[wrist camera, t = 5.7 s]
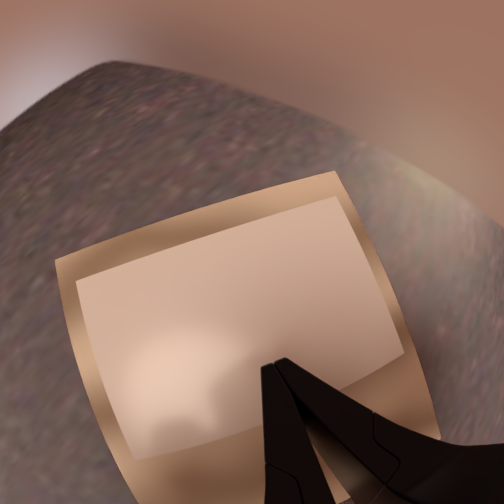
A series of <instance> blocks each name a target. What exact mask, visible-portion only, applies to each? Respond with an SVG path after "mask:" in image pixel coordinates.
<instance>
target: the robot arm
mask: <svg viewBox="0 0 504 504" xmlns="http://www.w3.org/2000/svg"><path fill="white" fill-rule="evenodd" d="M260 375H261V397H262V418H263V440H264V462H265V465H264V466H265V497H264V504H336V502H335V500H334V497H333V495H332V492H331V490H330V488H329V485H328V483H327V480H326V478H325V475H324V473H323V470H322V468H321V465H320V463H319V460H318V458H317V455H316V453H315V450H314V448H313V446H314V447H315V449H316V450H317V451H318V453H319V454H320V456H321V457H322V459H323V460H324V461H325V463H326V464H327V466H328V467H329V468H330V470H331V471H332V473H333V474H334V475H335V477H336V478H337V480H338V481H339V482H340V484H341V485H342V486H343V488H344V489H345V490H346V492H347V493H348V494H349V496H350V497H351V498H352V500H353V501H354V502H355V504H504V443H501V444H490V445H473V446H462V445H454V444H450V443H446V442H443V441H440V440H437V439H435V438H432V437H429V436H426V435H423V434H421V433H418V432H415V431H413V430H410V429H408V428H405V427H403V426H401V425H398V424H396V423H394V422H392V421H391V420H389V419H387V418H385V417H383V416H381V415H379V414H378V413H376V412H374V413H373V411H372V410H371V409H369V408H367V407H365V406H364V405H362V404H360V403H359V402H357V401H355V400H354V399H352V398H350V397H349V396H347V395H345V394H344V393H342V392H340V391H339V390H337V389H335V388H334V387H332V386H330V385H329V384H327V383H326V382H324V381H322V380H321V379H319V378H318V377H316V376H315V375H313V374H311V373H310V372H308V371H307V370H305V369H304V368H302V367H301V366H299V365H297V364H296V363H294V362H293V361H291V360H290V359H288V358H286V357H283V358H281V359H278V360H276V361H274V363H268V364H266V365H263V366H261V368H260ZM312 444H313V445H312Z"/></svg>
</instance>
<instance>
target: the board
mask: <svg viewBox="0 0 504 504" xmlns="http://www.w3.org/2000/svg"><path fill="white" fill-rule="evenodd" d="M334 196H336V197H337V199H338V201H339V203H340V205H341V207H342V209H343V211H344V213H345V215H346V217H347V219H348V221H349V223H350V225H351V227H352V229H353V231H354V233H355V235H356V237H357V239H358V241H359V243H360V246H361V248H362V250H363V252H364V254H365V256H366V259H367V261H368V263H369V265H370V268H371V270H372V272H373V274H374V277H375V279H376V281H377V284H378V286H379V288H380V291H381V293H382V296H383V298H384V300H385V303H386V305H387V308H388V310H389V313H390V315H391V318H392V321H393V323H394V326H395V328H396V331H397V334H398V336H399V339H400V342H401V345H402V347H403V350H404V354H402V355H401V356H399V357H397V358H396V359H394V360H393V361H391V362H389V363H388V364H386V365H384V366H383V367H381V368H379V369H377V370H376V371H374V372H372V373H370V374H369V375H367V376H365V377H363V378H361V379H360V380H358V381H356V382H354V383H352V384H350V385H348V386H346V387H344V388H342V389H341V390H339V391H340V392H342V393H344V394H345V395H347V396H349V397H350V398H352V399H354V400H355V401H357V402H359V403H360V404H362V405H364V406H365V407H367V408H369V409H371V410H372V411H373V413H374V412H376V413H378V414H379V415H381V416H383V417H385V418H387V419H389V420H391V421H392V422H394V423H396V424H398V425H401V426H403V427H405V428H408V429H410V430H413V431H415V432H418V433H421V434H423V435H426V436H429V437H432V438H435V439H437V440H440V439H441V435H440V431H439V427H438V423H437V419H436V415H435V411H434V408H433V404H432V400H431V397H430V393H429V390H428V387H427V383H426V380H425V377H424V374H423V370H422V367H421V364H420V361H419V358H418V355H417V352H416V349H415V346H414V344H413V341H412V338H411V335H410V332H409V330H408V327H407V324H406V322H405V319H404V316H403V314H402V311H401V309H400V306H399V304H398V301H397V299H396V296H395V294H394V291H393V289H392V287H391V284H390V282H389V280H388V277H387V275H386V273H385V270H384V268H383V266H382V264H381V261H380V259H379V257H378V255H377V253H376V250H375V248H374V246H373V244H372V242H371V240H370V238H369V236H368V233H367V231H366V229H365V227H364V225H363V223H362V221H361V219H360V217H359V215H358V213H357V211H356V209H355V207H354V205H353V204H352V202H351V200H350V198H349V196H348V194H347V192H346V190H345V188H344V187H343V185H342V183H341V181H340V179H339V177H338V176H337V174H336V172H335V171H331V172H327V173H323V174H319V175H315V176H311V177H307V178H304V179H300V180H296V181H292V182H289V183H285V184H281V185H278V186H274V187H270V188H267V189H263V190H260V191H256V192H253V193H249V194H246V195H242V196H239V197H236V198H232V199H229V200H226V201H222V202H219V203H216V204H212V205H209V206H206V207H203V208H200V209H196V210H193V211H190V212H187V213H184V214H181V215H178V216H175V217H172V218H169V219H166V220H163V221H160V222H157V223H154V224H151V225H148V226H145V227H142V228H139V229H136V230H134V231H131V232H128V233H125V234H122V235H119V236H117V237H114V238H111V239H108V240H106V241H103V242H100V243H98V244H95V245H92V246H90V247H87V248H84V249H82V250H79V251H77V252H74V253H72V254H69V255H66V256H64V257H61V258H59V259H56V260H55V264H56V271H57V277H58V283H59V289H60V294H61V300H62V305H63V309H64V314H65V319H66V323H67V327H68V331H69V335H70V339H71V343H72V347H73V350H74V354H75V357H76V361H77V364H78V368H79V371H80V374H81V377H82V380H83V383H84V386H85V389H86V392H87V395H88V398H89V400H90V403H91V406H92V408H93V411H94V414H95V416H96V419H97V421H98V424H99V426H100V428H101V431H102V433H103V435H104V438H105V440H106V442H107V444H108V447H109V449H110V451H111V453H112V455H113V457H114V459H115V461H116V463H117V465H118V467H119V469H120V471H121V473H122V475H123V477H124V479H125V481H126V483H127V484H128V486H129V488H130V490H131V492H132V493H133V495H134V497H135V499H136V500H137V502H138V504H264V497H265V466H264V465H265V462H264V440H263V424H261V425H259V426H256V427H253V428H251V429H248V430H245V431H242V432H239V433H236V434H234V435H231V436H227V437H224V438H221V439H218V440H215V441H212V442H208V443H205V444H201V445H198V446H194V447H191V448H187V449H183V450H179V451H175V452H171V453H167V454H163V455H158V456H154V457H149V458H144V459H139V460H135V459H134V457H133V455H132V453H131V451H130V449H129V447H128V444H127V442H126V440H125V438H124V435H123V433H122V431H121V429H120V426H119V424H118V421H117V419H116V417H115V414H114V412H113V409H112V406H111V404H110V401H109V399H108V396H107V393H106V390H105V388H104V385H103V382H102V379H101V376H100V373H99V370H98V367H97V364H96V361H95V357H94V354H93V351H92V347H91V344H90V340H89V336H88V333H87V329H86V325H85V321H84V317H83V313H82V309H81V304H80V300H79V295H78V290H77V285H76V281H77V280H80V279H83V278H86V277H88V276H91V275H94V274H97V273H99V272H102V271H105V270H108V269H111V268H113V267H116V266H119V265H122V264H125V263H128V262H131V261H133V260H136V259H139V258H142V257H145V256H148V255H151V254H154V253H157V252H160V251H163V250H165V249H168V248H171V247H174V246H177V245H180V244H183V243H186V242H189V241H192V240H195V239H198V238H202V237H205V236H208V235H211V234H214V233H217V232H220V231H223V230H226V229H229V228H232V227H236V226H239V225H242V224H245V223H248V222H251V221H255V220H258V219H261V218H264V217H267V216H271V215H274V214H277V213H280V212H284V211H287V210H290V209H293V208H297V207H300V206H303V205H307V204H310V203H313V202H317V201H320V200H324V199H327V198H330V197H334ZM312 445H313V444H312ZM313 448H314V450H315V453H316V455H317V458H318V460H319V463H320V465H321V468H322V470H323V473H324V475H325V478H326V480H327V483H328V485H329V488H330V490H331V492H332V495H333V497H334V500H335V502H336V504H339V503H341V502H343V501H345V500H347V499H349V498H351V497H350V496H349V494H348V493H347V492H346V490H345V489H344V488H343V486H342V485H341V484H340V482H339V481H338V480H337V478H336V477H335V475H334V474H333V473H332V471H331V470H330V468H329V467H328V466H327V464H326V463H325V461H324V460H323V459H322V457H321V456H320V454H319V453H318V451H317V450H316V449H315V447H314V446H313Z"/></svg>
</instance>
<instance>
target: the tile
mask: <svg viewBox="0 0 504 504" xmlns="http://www.w3.org/2000/svg"><path fill="white" fill-rule="evenodd" d="M76 285H77V290H78V295H79V300H80V304H81V309H82V313H83V317H84V321H85V325H86V329H87V333H88V336H89V340H90V344H91V347H92V351H93V354H94V357H95V361H96V364H97V367H98V370H99V373H100V376H101V379H102V382H103V385H104V388H105V390H106V393H107V396H108V399H109V401H110V404H111V406H112V409H113V412H114V414H115V417H116V419H117V421H118V424H119V426H120V429H121V431H122V433H123V435H124V438H125V440H126V442H127V444H128V447H129V449H130V451H131V453H132V455H133V457H134V459H135V460H139V459H144V458H149V457H154V456H158V455H163V454H167V453H171V452H175V451H179V450H183V449H187V448H191V447H194V446H198V445H201V444H205V443H208V442H212V441H215V440H218V439H221V438H224V437H227V436H231V435H234V434H236V433H239V432H242V431H245V430H248V429H251V428H253V427H256V426H259V425H261V424H263V418H262V397H261V375H260V368H261V366H263V365H266V364H268V363H274V361H276V360H278V359H281V358H283V357H286V358H288V359H290V360H291V361H293V362H294V363H296V364H297V365H299V366H301V367H302V368H304V369H305V370H307V371H308V372H310V373H311V374H313V375H315V376H316V377H318V378H319V379H321V380H322V381H324V382H326V383H327V384H329V385H330V386H332V387H334V388H335V389H337V390H341V389H342V388H344V387H346V386H348V385H350V384H352V383H354V382H356V381H358V380H360V379H361V378H363V377H365V376H367V375H369V374H370V373H372V372H374V371H376V370H377V369H379V368H381V367H383V366H384V365H386V364H388V363H389V362H391V361H393V360H394V359H396V358H397V357H399V356H401V355H402V354H404V350H403V347H402V345H401V342H400V339H399V336H398V334H397V331H396V328H395V326H394V323H393V321H392V318H391V315H390V313H389V310H388V308H387V305H386V303H385V300H384V298H383V296H382V293H381V291H380V288H379V286H378V284H377V281H376V279H375V277H374V274H373V272H372V270H371V268H370V265H369V263H368V261H367V259H366V256H365V254H364V252H363V250H362V248H361V246H360V243H359V241H358V239H357V237H356V235H355V233H354V231H353V229H352V227H351V225H350V223H349V221H348V219H347V217H346V215H345V213H344V211H343V209H342V207H341V205H340V203H339V201H338V199H337V197H336V196H334V197H330V198H327V199H324V200H320V201H317V202H313V203H310V204H307V205H303V206H300V207H297V208H293V209H290V210H287V211H284V212H280V213H277V214H274V215H271V216H267V217H264V218H261V219H258V220H255V221H251V222H248V223H245V224H242V225H239V226H236V227H232V228H229V229H226V230H223V231H220V232H217V233H214V234H211V235H208V236H205V237H202V238H198V239H195V240H192V241H189V242H186V243H183V244H180V245H177V246H174V247H171V248H168V249H165V250H163V251H160V252H157V253H154V254H151V255H148V256H145V257H142V258H139V259H136V260H133V261H131V262H128V263H125V264H122V265H119V266H116V267H113V268H111V269H108V270H105V271H102V272H99V273H97V274H94V275H91V276H88V277H86V278H83V279H80V280H77V281H76Z"/></svg>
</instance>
